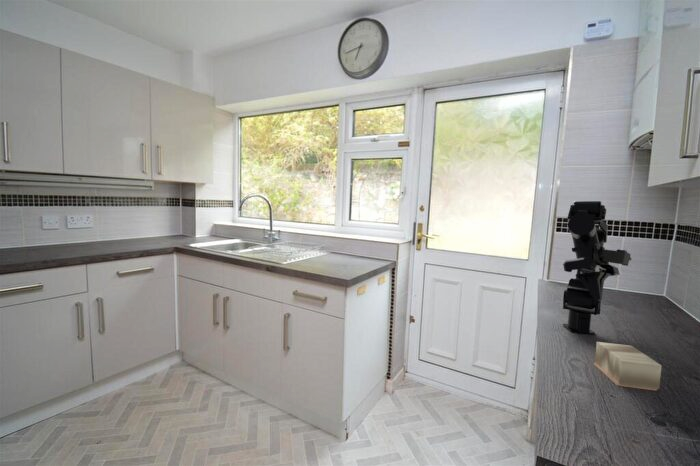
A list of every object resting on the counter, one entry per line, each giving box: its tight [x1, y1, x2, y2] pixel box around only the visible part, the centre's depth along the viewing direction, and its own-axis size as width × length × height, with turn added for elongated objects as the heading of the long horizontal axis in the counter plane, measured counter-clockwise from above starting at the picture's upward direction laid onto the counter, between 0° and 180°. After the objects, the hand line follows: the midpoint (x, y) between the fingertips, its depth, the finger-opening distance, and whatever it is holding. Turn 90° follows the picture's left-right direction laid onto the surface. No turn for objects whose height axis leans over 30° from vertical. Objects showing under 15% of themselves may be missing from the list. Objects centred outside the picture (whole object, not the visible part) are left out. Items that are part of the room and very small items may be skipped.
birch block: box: [594, 341, 662, 390], centre depth 71 cm, size 5×7×10 cm
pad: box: [593, 362, 658, 392], centre depth 71 cm, size 10×7×1 cm
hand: (598, 300), depth 85 cm, fingers closed
